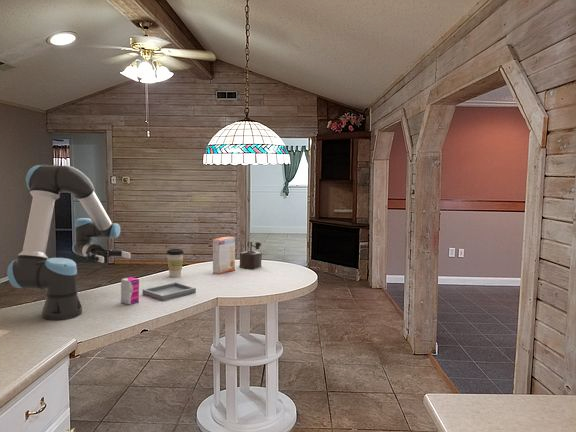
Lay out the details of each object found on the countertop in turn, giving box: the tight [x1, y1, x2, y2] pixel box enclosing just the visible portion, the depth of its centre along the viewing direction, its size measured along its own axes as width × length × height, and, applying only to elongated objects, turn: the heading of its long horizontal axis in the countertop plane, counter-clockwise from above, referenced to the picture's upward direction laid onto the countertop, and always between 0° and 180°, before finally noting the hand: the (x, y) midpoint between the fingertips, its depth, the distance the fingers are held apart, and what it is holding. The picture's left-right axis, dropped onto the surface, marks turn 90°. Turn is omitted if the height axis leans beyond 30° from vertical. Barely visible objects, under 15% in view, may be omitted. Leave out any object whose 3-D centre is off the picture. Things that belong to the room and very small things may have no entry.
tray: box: [142, 281, 197, 302], centre depth 227 cm, size 20×16×2 cm
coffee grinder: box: [239, 240, 263, 270], centre depth 290 cm, size 16×11×18 cm
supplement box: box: [120, 276, 140, 306], centre depth 209 cm, size 6×6×12 cm
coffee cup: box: [165, 248, 185, 278], centre depth 263 cm, size 10×10×15 cm
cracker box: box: [212, 235, 236, 275], centre depth 276 cm, size 14×6×21 cm, turn 144°
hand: (116, 257), depth 215 cm, fingers open, 13 cm apart
